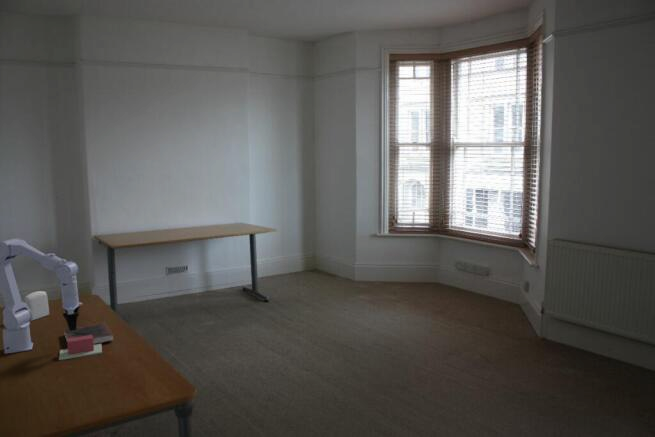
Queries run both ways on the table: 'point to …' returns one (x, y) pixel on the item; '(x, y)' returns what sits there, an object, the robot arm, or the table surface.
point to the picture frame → (91, 332)
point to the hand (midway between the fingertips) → (73, 327)
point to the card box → (80, 344)
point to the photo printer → (37, 304)
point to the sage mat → (65, 355)
